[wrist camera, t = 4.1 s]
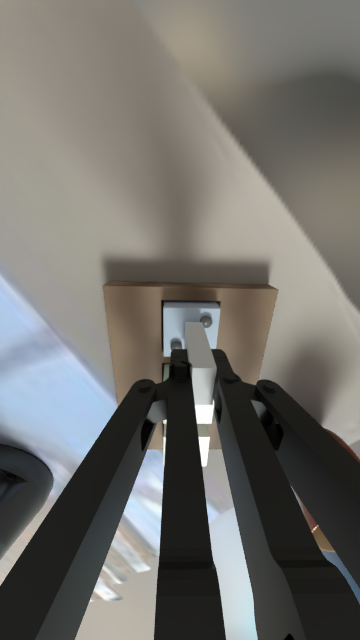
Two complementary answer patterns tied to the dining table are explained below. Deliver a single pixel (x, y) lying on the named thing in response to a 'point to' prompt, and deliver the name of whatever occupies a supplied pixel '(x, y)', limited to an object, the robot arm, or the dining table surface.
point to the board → (147, 332)
